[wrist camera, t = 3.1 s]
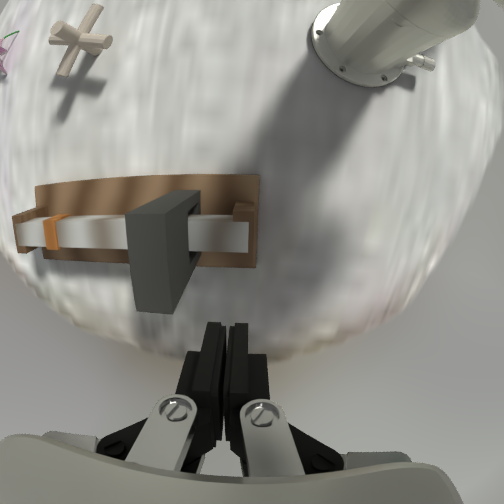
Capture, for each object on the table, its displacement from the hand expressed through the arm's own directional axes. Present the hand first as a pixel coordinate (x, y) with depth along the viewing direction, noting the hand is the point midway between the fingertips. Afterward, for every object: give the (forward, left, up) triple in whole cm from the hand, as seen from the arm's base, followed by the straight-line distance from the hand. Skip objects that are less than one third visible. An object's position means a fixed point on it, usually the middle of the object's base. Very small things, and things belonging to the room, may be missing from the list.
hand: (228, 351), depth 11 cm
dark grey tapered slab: (+6, 0, -22) cm, 23 cm away
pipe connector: (+20, -24, -24) cm, 39 cm away
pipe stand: (+14, 0, -23) cm, 27 cm away
